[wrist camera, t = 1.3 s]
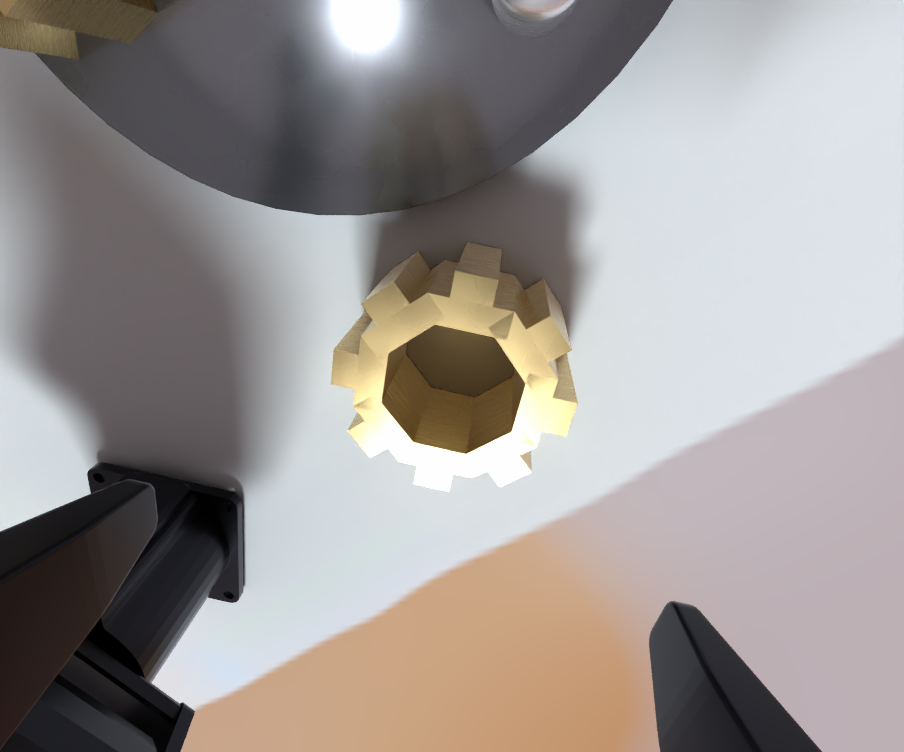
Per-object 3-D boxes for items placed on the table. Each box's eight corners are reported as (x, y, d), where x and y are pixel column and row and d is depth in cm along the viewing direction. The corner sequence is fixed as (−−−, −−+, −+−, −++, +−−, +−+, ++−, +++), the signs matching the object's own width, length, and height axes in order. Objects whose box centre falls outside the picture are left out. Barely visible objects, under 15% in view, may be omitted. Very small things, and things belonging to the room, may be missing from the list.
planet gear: (535, 447, 18) (539, 512, 15) (356, 407, 19) (324, 463, 15) (592, 269, 15) (612, 305, 12) (377, 222, 15) (342, 246, 12)
